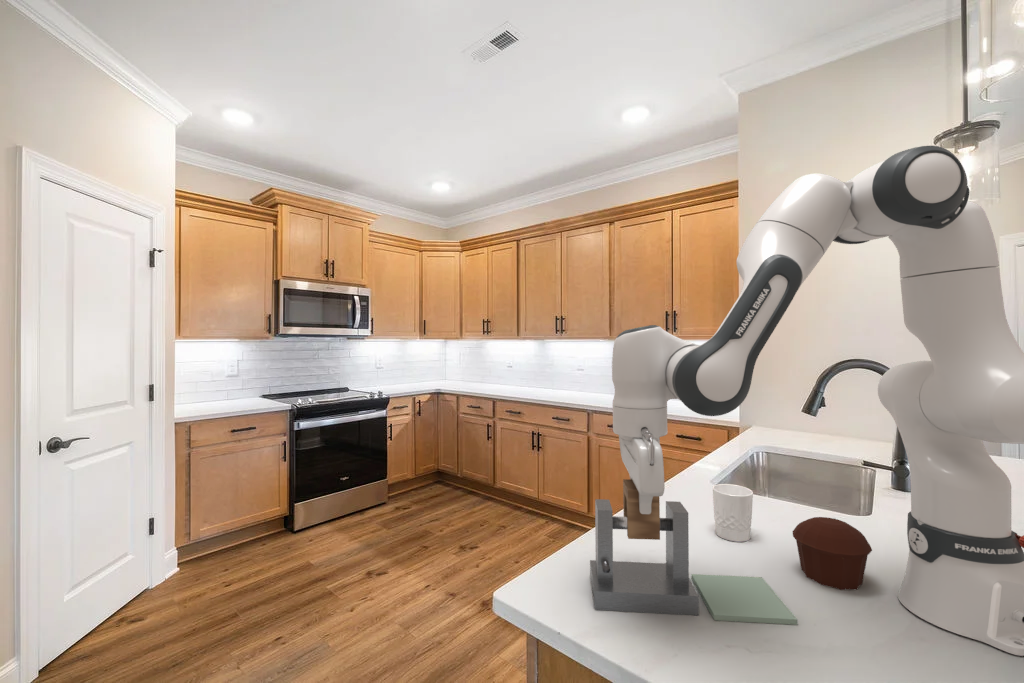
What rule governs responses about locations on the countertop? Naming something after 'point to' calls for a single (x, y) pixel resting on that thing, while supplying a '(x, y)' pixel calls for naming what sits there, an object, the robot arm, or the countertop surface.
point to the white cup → (732, 511)
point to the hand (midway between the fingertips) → (640, 504)
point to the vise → (643, 568)
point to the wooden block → (637, 522)
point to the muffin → (832, 552)
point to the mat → (742, 599)
